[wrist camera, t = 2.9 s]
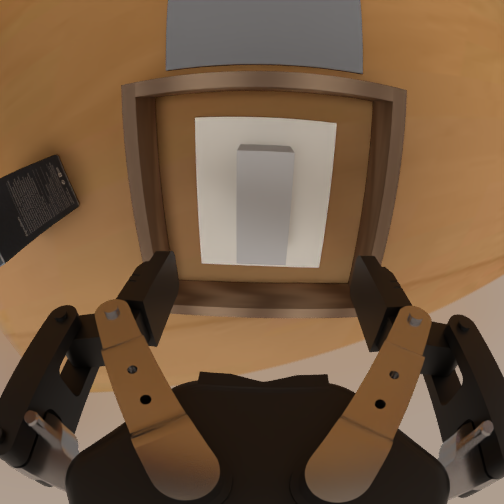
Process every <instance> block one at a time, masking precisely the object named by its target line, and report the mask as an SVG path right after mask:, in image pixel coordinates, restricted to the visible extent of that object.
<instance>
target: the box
mask: <svg viewBox="0 0 504 504" xmlns="http://www.w3.org/2000/svg"><path fill="white" fill-rule="evenodd" d="M77 207H79V203H78V200H77V198H76V196H75V193H74V191H73V189H72V187H71V184H70V182H69V180H68V177H67V175H66V173H65V171H64V169H63V166H62V164H61V161H60V159H59V156H58V155H53V156H51V157H48V158H46V159H43V160H41V161H38V162H36V163H33V164H31V165H29V166H26V167H24V168H22V169H19V170H17V171H15V172H13V173H10V174H8V175H6V176H4V177H2V178H0V266H2V265H4V264H5V263H6V262H7V261H9V260H10V259H11V258H12V257H13V256H15V255H16V254H17V253H18V252H19V251H20V250H22V249H23V248H24V247H25V246H27V245H28V244H29V243H30V242H31V241H33V240H34V239H35V238H36V237H38V236H39V235H40V234H41V233H43V232H44V231H46V230H47V229H48V228H49V227H51V226H52V225H53V224H55V223H56V222H58V221H59V220H60V219H62V218H63V217H65V216H66V215H67V214H69V213H70V212H72V211H73V210H74V209H76V208H77Z"/></svg>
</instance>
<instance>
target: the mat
mask: <svg viewBox="0 0 504 504" xmlns="http://www.w3.org/2000/svg"><path fill="white" fill-rule="evenodd" d="M221 65H288V66H303V67H314V68H324V69H332V70H339V71H346V72H352V73H358V74H363V43H362V19H361V4H360V0H168V9H167V31H166V71H170V70H177V69H185V68H195V67H206V66H221Z"/></svg>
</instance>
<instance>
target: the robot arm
mask: <svg viewBox="0 0 504 504" xmlns="http://www.w3.org/2000/svg"><path fill="white" fill-rule="evenodd" d="M178 291H179V279H178V273H177V267H176V260H175V255H174V252H173V251H156V252H155V253H154V255H153V256H152V258H151V259H150V261H145V262H144V263H142V264H141V265H139V266H138V267H137V268H136V269H135V271H134V272H133V274H132V276H131V277H130V278H129V280H128V281H127V283H126V284H125V286H124V287H123V289H122V290H121V292H120V294H119V295H118V297H117V298H116V299H113V300H109V301H106V302H104V303H103V304H101V305H100V306H99V307H98V308H97V309H96V311H95V314H88V315H80V316H79V315H78V313H77V310H76V308H75V307H73V306H70V305H65V306H61V307H58V308H56V309H55V310H53V311H52V312H51V313H50V315H49V316H48V317H47V319H46V320H45V322H44V323H43V325H42V326H41V328H40V329H39V331H38V332H37V334H36V336H35V337H34V339H33V340H32V342H31V343H30V345H29V347H28V348H27V350H26V352H25V353H24V355H23V357H22V358H21V360H20V362H19V364H18V365H17V367H16V369H15V371H14V372H13V374H12V376H11V378H10V380H9V382H8V384H7V386H6V388H5V389H4V391H3V393H2V395H1V398H0V458H1V459H2V460H4V461H5V462H6V463H7V464H8V465H9V466H11V467H12V468H14V469H15V470H17V471H18V472H20V473H22V474H23V475H25V476H27V477H28V478H30V479H33V480H35V481H37V482H39V483H40V484H42V485H44V486H48V487H52V486H54V487H56V488H58V489H61V490H63V491H65V492H67V496H68V500H69V504H447V501H448V500H450V499H452V498H455V497H457V496H458V497H461V498H464V497H468V496H470V495H472V494H474V493H476V492H478V491H480V490H482V489H483V488H485V487H487V486H489V485H491V484H493V483H494V482H496V481H498V480H499V479H501V478H503V477H504V377H503V375H502V373H501V371H500V369H499V367H498V365H497V363H496V361H495V359H494V357H493V355H492V353H491V352H490V350H489V348H488V346H487V344H486V343H485V341H484V339H483V337H482V335H481V334H480V332H479V330H478V329H477V327H476V325H475V324H474V323H473V321H471V320H470V319H469V318H467V317H465V316H463V315H453V316H452V317H451V318H450V319H449V321H448V323H447V324H442V323H437V322H432V321H431V318H430V316H429V315H428V313H427V312H425V311H424V310H423V309H421V308H419V307H415V306H412V304H411V303H410V301H409V299H408V298H407V296H406V294H405V293H404V291H403V289H402V288H401V286H400V284H399V283H398V282H397V279H396V278H395V276H394V275H393V273H392V272H390V271H389V270H388V269H387V268H385V267H381V265H380V264H379V262H378V260H377V259H376V257H375V256H358V257H357V258H356V262H355V267H354V271H353V276H352V280H351V285H350V297H351V300H352V303H353V306H354V308H355V311H356V314H357V317H358V320H359V323H360V325H361V328H362V331H363V334H364V337H365V340H366V343H367V346H368V349H369V352H377V351H379V353H378V355H377V357H376V359H375V360H374V363H373V364H372V366H371V368H370V370H369V372H368V373H367V375H366V377H365V378H364V380H363V382H362V384H361V385H360V387H359V389H358V390H357V392H356V393H354V392H352V391H350V390H349V389H347V388H344V387H341V386H338V385H335V384H330V383H329V381H328V375H327V374H324V375H297V376H292V377H288V378H282V379H278V380H273V381H268V382H261V381H256V380H252V379H248V378H244V377H241V376H237V375H233V374H224V373H210V372H200V374H199V379H198V381H192V382H187V383H184V384H181V385H178V386H176V387H174V388H172V389H171V388H170V386H169V384H168V382H167V381H166V379H165V377H164V375H163V373H162V371H161V369H160V368H159V366H158V364H157V362H156V360H155V358H154V356H153V354H152V352H151V350H150V348H149V346H155V347H157V346H158V343H159V340H160V338H161V335H162V332H163V330H164V327H165V325H166V322H167V320H168V317H169V315H170V312H171V310H172V307H173V305H174V302H175V300H176V297H177V295H178ZM65 355H66V356H67V358H68V360H67V362H66V364H65V366H64V368H63V370H62V372H61V374H60V372H59V369H60V365H61V363H62V361H63V359H64V357H65ZM457 365H458V366H459V368H460V371H461V373H462V376H463V383H462V386H461V384H460V381H459V379H458V376H457V374H456V371H455V368H456V366H457ZM100 366H106V370H107V373H108V376H109V379H110V382H111V385H112V388H113V391H114V394H115V396H116V399H117V402H118V404H119V407H120V410H121V412H122V414H123V417H124V419H125V422H124V423H123V424H122V425H121V426H119V427H117V428H116V429H115V430H113V431H112V432H110V433H109V434H107V435H106V436H105V437H103V438H102V439H100V440H99V441H97V442H96V443H94V444H92V445H91V446H90V447H88V448H86V449H85V450H83V451H82V452H80V453H79V451H78V441H77V438H76V436H75V435H74V434H75V431H76V428H77V425H78V422H79V419H80V416H81V413H82V411H83V408H84V405H85V402H86V400H87V397H88V394H89V392H90V389H91V387H92V384H93V382H94V379H95V377H96V374H97V372H98V369H99V367H100ZM420 374H423V376H424V379H425V382H426V385H427V388H428V391H429V394H430V398H431V400H432V404H433V408H434V411H435V414H436V418H437V422H438V425H439V429H440V433H441V437H442V441H443V444H442V446H441V448H440V451H439V458H438V459H436V458H435V457H433V456H432V455H431V454H429V453H428V452H427V451H426V450H425V449H423V448H422V447H421V446H419V445H418V444H417V443H416V442H414V441H413V440H412V439H411V438H409V437H408V436H407V435H406V434H404V433H403V432H402V431H401V430H399V429H398V427H399V425H400V423H401V421H402V418H403V416H404V414H405V411H406V409H407V407H408V404H409V402H410V399H411V396H412V394H413V391H414V389H415V386H416V383H417V381H418V378H419V375H420Z"/></svg>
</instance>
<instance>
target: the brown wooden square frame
mask: <svg viewBox="0 0 504 504" xmlns="http://www.w3.org/2000/svg"><path fill="white" fill-rule="evenodd" d="M121 89H122V114H123V129H124V142H125V152H126V162H127V171H128V179H129V186H130V193H131V200H132V207H133V213H134V219H135V224H136V230H137V235H138V240H139V246H140V250H141V255H142V260H143V263H144V262H145V261H150V259H151V258H152V256H153V255H154V253H155V252H156V251H170V250H169V244H168V237H167V230H166V223H165V215H164V207H163V199H162V190H161V180H160V170H159V158H158V145H157V130H156V110H155V97H162V96H169V95H178V94H188V93H200V92H215V91H252V90H253V91H290V92H305V93H317V94H327V95H336V96H343V97H351V98H357V99H364V100H369V101H373V115H372V130H371V142H370V153H369V163H368V172H367V180H366V188H365V195H364V202H363V209H362V215H361V221H360V227H359V233H358V238H357V244H356V249H355V254H354V259H353V264H352V269H351V273H350V278H349V282H348V284H301V283H244V282H211V281H186V280H179V291H178V295H177V297H176V300H175V302H174V305H173V307H172V310H171V312H170V313H172V314H186V315H202V316H221V317H247V318H343V317H357V314H356V311H355V308H354V306H353V303H352V300H351V297H350V285H351V280H352V276H353V271H354V267H355V262H356V258H357V257H358V256H375V257H376V259H377V260H378V262H379V264H380V265H381V263H382V259H383V255H384V251H385V247H386V243H387V238H388V234H389V229H390V224H391V220H392V215H393V209H394V204H395V199H396V193H397V187H398V180H399V173H400V166H401V159H402V150H403V141H404V130H405V117H406V98H407V90H404V89H400V88H396V87H392V86H387V85H383V84H378V83H373V82H368V81H362V80H356V79H350V78H344V77H336V76H329V75H320V74H309V73H296V72H277V71H231V72H212V73H199V74H188V75H180V76H172V77H164V78H158V79H152V80H146V81H140V82H135V83H130V84H125V85H121Z"/></svg>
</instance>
